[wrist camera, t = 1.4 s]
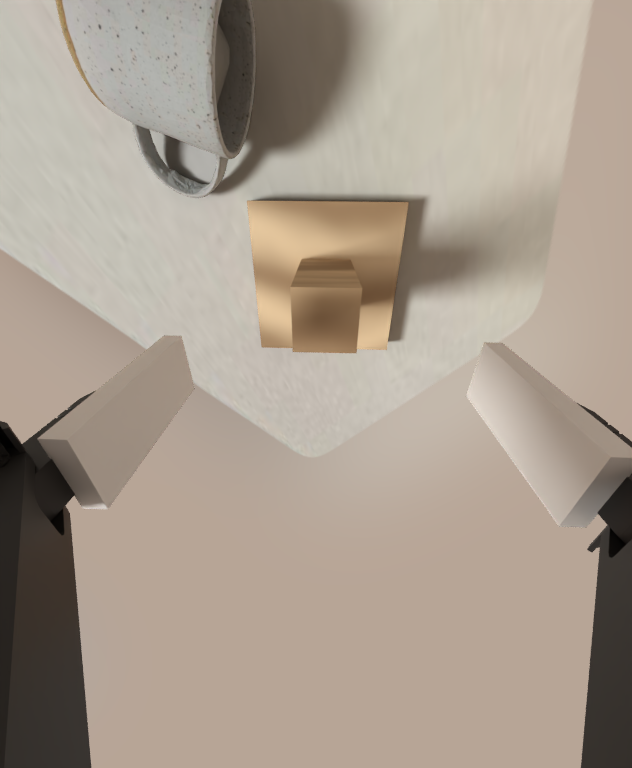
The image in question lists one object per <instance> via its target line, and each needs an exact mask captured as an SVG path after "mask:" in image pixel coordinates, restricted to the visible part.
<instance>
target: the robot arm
mask: <svg viewBox="0 0 632 768" xmlns="http://www.w3.org/2000/svg"><path fill="white" fill-rule="evenodd" d="M194 389H195V388H194V384H193V380H192V376H191V372H190V368H189V364H188V360H187V356H186V352H185V348H184V344H183V340H182V336H163V337H162V338H161V339H159V340H158V341H157V342H156V343H154V344H153V345H152V346H151V347H149V348H148V349H147V350H146V351H145V352H143V353H142V354H141V355H140V356H138V357H137V358H136V359H135V360H134V361H132V362H131V363H130V364H129V365H127V366H126V367H125V368H124V369H123V370H121V371H120V372H119V373H118V374H116V375H115V376H114V377H113V378H111V379H110V380H109V381H108V382H106V383H105V384H104V385H103V386H102V387H101V388H99V389H98V390H97V391H94V392H92V393H90V394H88V395H86V396H84V397H82V398H80V399H79V400H78V401H76V402H75V403H74V404H73V405H71V406H70V407H69V408H68V410H65V411H64V412H62V413H61V414H60V415H59V416H58V418H55V419H54V420H52V421H51V422H50V423H48V424H47V425H46V426H45V427H43V428H42V429H41V430H40V431H38V432H37V433H36V434H35V435H33V436H32V437H31V438H29V439H28V440H27V441H26V442H24V443H23V444H21V442H20V441H19V439H18V438H17V437H16V435H15V434H14V433H13V431H12V429H11V428H10V427H9V425H8V424H7V423H5V422H1V421H0V768H91V760H90V748H89V736H88V723H87V713H86V700H85V689H84V676H83V664H82V653H81V640H80V628H79V616H78V604H77V593H76V580H75V569H74V558H73V546H72V533H71V521H70V513H69V511H68V509H67V508H66V506H65V505H66V504H67V503H68V502H69V501H70V499H71V498H72V497H73V496H75V497H76V499H77V500H78V502H79V503H80V505H81V506H82V508H89V509H108V508H109V507H110V506H111V504H112V503H113V501H114V500H115V499H116V497H117V496H118V495H119V493H120V492H121V490H122V489H123V488H124V486H125V485H126V483H127V482H128V480H129V479H130V478H131V476H132V475H133V474H134V472H135V471H136V469H137V468H138V466H139V465H140V464H141V463H142V461H143V460H144V458H145V457H146V456H147V454H148V453H149V451H150V450H151V449H152V447H153V446H154V444H155V443H156V442H157V440H158V439H159V437H160V436H161V435H162V433H163V432H164V430H165V429H166V427H167V426H168V425H169V424H170V422H171V420H172V419H173V418H174V416H175V415H176V414H177V412H178V411H179V409H180V408H181V407H182V405H183V404H184V403H185V401H186V400H187V398H188V397H189V396H190V394H191V393H192V391H193V390H194ZM467 398H468V399H469V401H470V402H471V403H472V405H473V406H474V408H475V409H476V410H477V412H478V413H479V414H480V416H481V417H482V419H483V420H484V422H485V423H486V424H487V426H488V427H489V429H490V430H491V431H492V433H493V434H494V436H495V437H496V439H497V440H498V441H499V443H500V444H501V446H502V447H503V448H504V450H505V451H506V453H507V454H508V455H509V457H510V458H511V460H512V461H513V463H514V464H515V465H516V467H517V468H518V469H519V471H520V472H521V474H522V475H523V477H524V478H525V479H526V481H527V482H528V484H529V485H530V486H531V488H532V489H533V491H534V492H535V493H536V495H537V496H538V498H539V499H540V501H541V502H542V503H543V505H544V506H545V507H546V509H547V510H548V512H549V513H550V515H551V516H552V517H553V519H554V520H555V522H556V523H557V524H558V526H559V527H585V528H586V527H587V526H588V525H589V524H590V522H591V521H592V520H593V519H594V518H595V517H596V515H597V514H599V515H600V516H601V518H602V519H603V520H604V521H605V522H606V523H607V526H606V528H605V529H604V530H603V531H602V532H601V533H600V534H599V535H598V537H597V538H596V539H595V540H594V541H593V542H592V543H591V544H590V546H589V548H588V550H589V551H590V552H593V551H594V550H595V549H596V548H598V547H600V553H599V564H598V576H597V587H596V599H595V611H594V622H593V635H592V646H591V658H590V669H589V682H588V693H587V705H586V716H585V727H584V739H583V751H582V763H581V768H632V442H631V441H630V440H629V439H628V438H626V437H625V436H624V435H623V434H619V431H618V430H616V429H615V428H614V427H612V426H611V425H608V423H607V422H606V421H605V420H604V419H602V418H601V417H600V416H599V415H597V414H596V413H595V412H593V411H591V410H589V409H587V408H586V407H584V406H582V405H580V404H578V403H576V402H575V401H573V400H572V399H571V398H569V397H568V396H567V395H566V394H565V393H563V392H562V391H561V390H560V389H558V388H557V387H556V386H555V385H554V384H552V383H551V382H550V381H549V380H547V379H546V378H545V377H544V376H542V375H541V374H540V373H539V372H538V371H536V370H535V369H534V368H533V367H531V366H530V365H529V364H528V363H526V362H525V361H524V360H523V359H522V358H520V357H519V356H518V355H517V354H515V353H514V352H513V351H512V350H510V349H509V348H508V347H507V346H505V345H504V344H503V343H484V344H483V347H482V350H481V353H480V356H479V360H478V362H477V365H476V368H475V371H474V374H473V377H472V380H471V383H470V386H469V389H468V392H467Z"/></svg>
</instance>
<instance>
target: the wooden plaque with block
mask: <svg viewBox="0 0 632 768" xmlns="http://www.w3.org/2000/svg"><path fill="white" fill-rule="evenodd" d="M408 204H409V202H346V201H247V205H248V215H249V225H250V235H251V245H252V255H253V265H254V275H255V285H256V295H257V305H258V315H259V325H260V335H261V345H262V347H272V348H293V352H323V353H356V352H357V349H377V350H387V343H388V337H389V330H390V323H391V317H392V310H393V304H394V297H395V290H396V284H397V277H398V270H399V264H400V257H401V250H402V244H403V237H404V230H405V224H406V217H407V210H408Z"/></svg>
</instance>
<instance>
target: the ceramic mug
mask: <svg viewBox="0 0 632 768" xmlns="http://www.w3.org/2000/svg"><path fill="white" fill-rule="evenodd" d="M56 4H57V10H58V15H59V20H60V24H61V28H62V31H63V35H64V37H65V40H66V43H67V46H68V49H69V51H70V54H71V56H72V58H73V61H74V63H75V65H76V67H77V69H78V71H79V72H80V74H81V76H82V78H83V79H84V81H85V82H86V84H87V86H88V87H89V89H90V90H91V92H92V93H93V94H94V95H95V96H96V98H97V99H98V100H99V101H100V102H101V103H102V104H103V105H104V106H106V107H107V108H108V109H110V110H111V111H112V112H114V113H115V114H117V115H119V116H121V117H122V118H124V119H126V120H128V121H130V122H132V123H133V130H134V134H135V139H136V141H137V144H138V147H139V150H140V152H141V154H142V156H143V158H144V160H145V162H146V164H147V165H148V167H149V168H150V169H151V170H152V172H153V173H154V174H155V175H156V176H157V177H158V178H159V179H160V180H161V181H162V182H163V183H164V184H165V185H167V186H168V187H169V188H171V189H173V190H174V191H176V192H178V193H180V194H183V195H185V196H189V197H193V198H201V197H205V196H207V195H208V194H210V193H211V192H212V191H213V190H214V189H215V188H216V187H217V186H218V185H219V183H220V182H221V180H222V178H223V177H224V174H225V171H226V167H227V162H228V159H232V158H235V157H236V156H237V155H238V154H239V152H240V150H241V149H242V146H243V144H244V142H245V138H246V136H247V132H248V129H249V125H250V117H251V111H252V107H253V99H254V88H255V79H256V78H255V71H256V39H255V21H254V17H253V10H252V3H251V0H56ZM149 129H150V130H153V131H156V132H159V133H162V134H165V135H168V136H170V137H173V138H175V139H177V140H180V141H182V142H185V143H187V144H190V145H192V146H195V147H198V148H200V149H203V150H206V151H208V152H211V153H214V154H216V157H217V166H216V169H215V173H214V176H213V179H212V181H211V182H210V184H200V183H197V182H195V181H193V180H190V179H188V178H185V177H183V176H181V175H180V174H178V173H177V172H176V171H175V170H170V169H169V168H168V167H167V166H166V165H165V163H164V162H163V161H162V159H161V157H160V156H159V154H158V152H157V150H156V147H155V145H154V143H153V141H152V137H151V134H150V131H149Z"/></svg>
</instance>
